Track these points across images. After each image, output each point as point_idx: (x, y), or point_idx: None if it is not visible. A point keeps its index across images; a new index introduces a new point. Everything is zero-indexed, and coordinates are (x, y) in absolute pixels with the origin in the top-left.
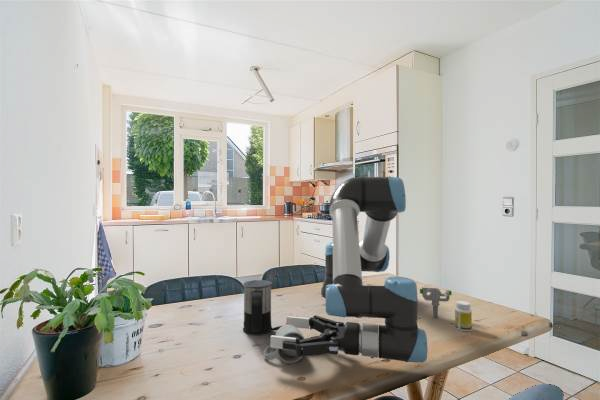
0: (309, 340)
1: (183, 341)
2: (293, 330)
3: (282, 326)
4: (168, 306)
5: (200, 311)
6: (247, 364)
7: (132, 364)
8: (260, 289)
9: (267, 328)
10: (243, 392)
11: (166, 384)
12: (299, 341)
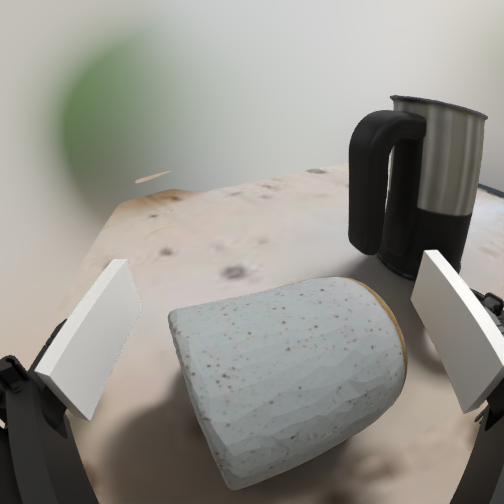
0: (13, 461)
1: (277, 197)
2: (226, 344)
3: (329, 278)
4: None
5: None
6: (186, 305)
7: (187, 193)
8: (418, 109)
9: None
10: (54, 328)
11: (121, 232)
12: (13, 391)
